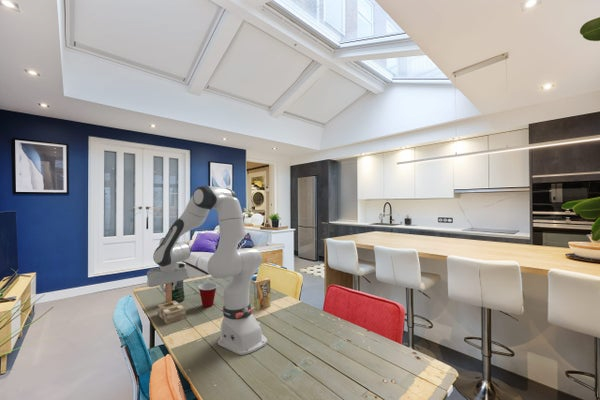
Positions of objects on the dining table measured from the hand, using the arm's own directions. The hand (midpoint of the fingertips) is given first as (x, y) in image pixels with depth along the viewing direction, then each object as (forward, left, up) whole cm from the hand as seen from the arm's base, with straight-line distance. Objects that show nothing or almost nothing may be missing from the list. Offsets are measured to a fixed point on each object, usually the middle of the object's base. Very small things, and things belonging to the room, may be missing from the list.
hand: (168, 291), depth 140 cm
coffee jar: (+16, -9, -13) cm, 22 cm away
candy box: (-30, -41, -13) cm, 52 cm away
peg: (0, 0, -6) cm, 6 cm away
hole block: (-4, 0, -12) cm, 13 cm away
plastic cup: (-5, -20, -13) cm, 24 cm away
